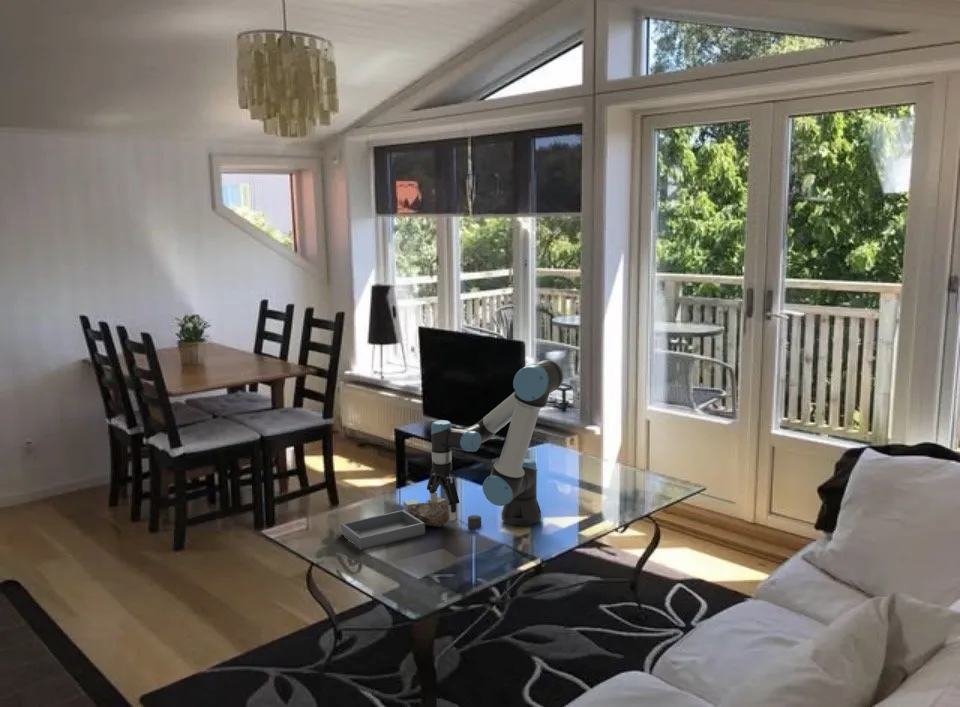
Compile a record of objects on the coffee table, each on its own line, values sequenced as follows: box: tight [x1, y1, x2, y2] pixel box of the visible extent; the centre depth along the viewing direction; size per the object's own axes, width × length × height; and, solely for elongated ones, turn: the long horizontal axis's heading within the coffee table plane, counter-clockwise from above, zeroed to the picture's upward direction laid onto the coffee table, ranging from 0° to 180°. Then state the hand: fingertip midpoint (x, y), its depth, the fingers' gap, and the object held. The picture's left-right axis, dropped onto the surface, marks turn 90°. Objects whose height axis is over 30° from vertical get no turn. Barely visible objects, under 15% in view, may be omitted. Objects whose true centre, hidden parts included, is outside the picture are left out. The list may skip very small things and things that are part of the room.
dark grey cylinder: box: [467, 514, 482, 531], centre depth 303 cm, size 5×5×4 cm
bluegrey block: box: [403, 498, 420, 515], centre depth 316 cm, size 5×5×6 cm
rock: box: [410, 502, 449, 528], centre depth 305 cm, size 18×10×10 cm
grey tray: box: [340, 509, 426, 551], centre depth 297 cm, size 17×26×4 cm, turn 123°
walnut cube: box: [427, 496, 447, 504], centre depth 321 cm, size 5×5×5 cm
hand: (443, 514), depth 308 cm, fingers open, 13 cm apart
